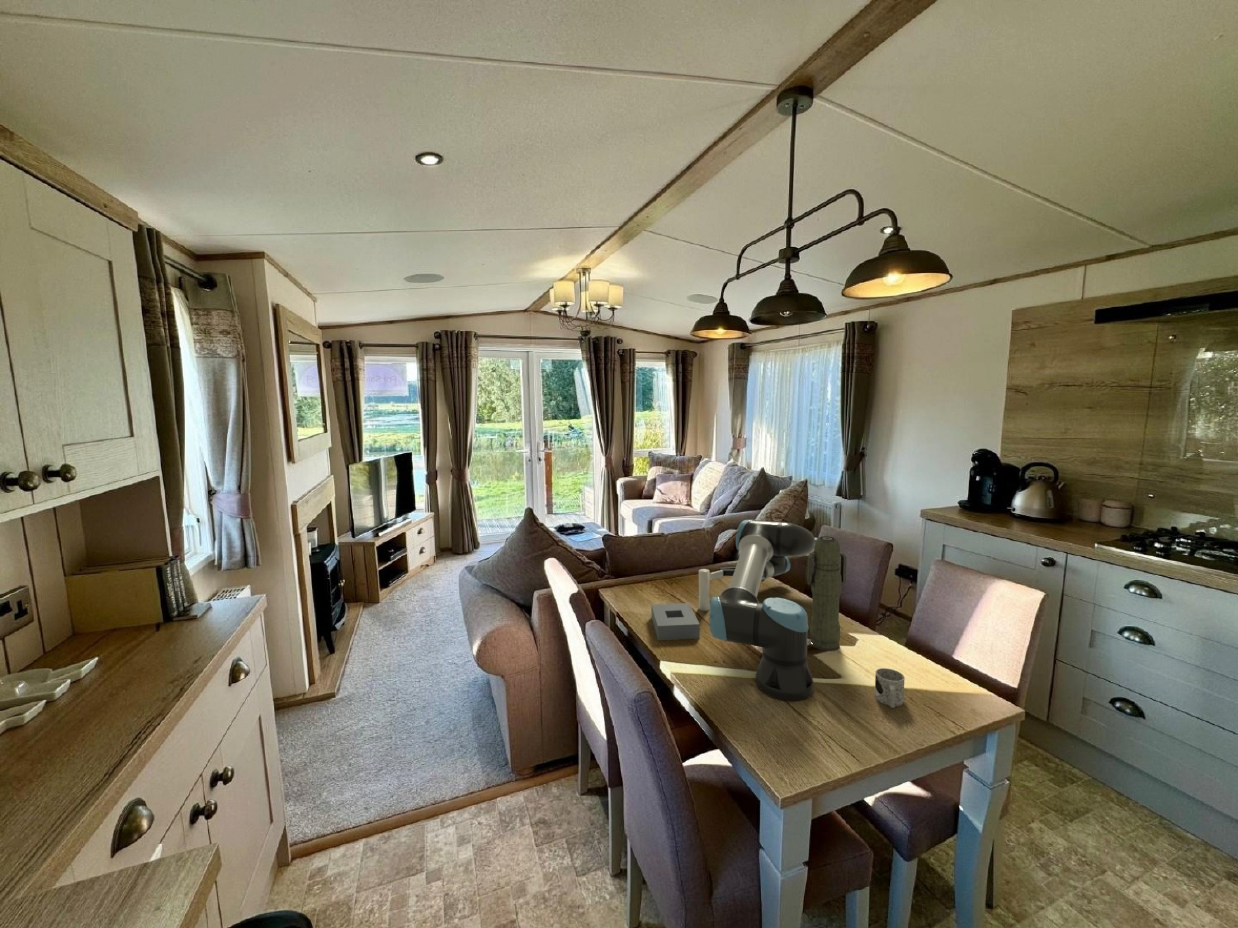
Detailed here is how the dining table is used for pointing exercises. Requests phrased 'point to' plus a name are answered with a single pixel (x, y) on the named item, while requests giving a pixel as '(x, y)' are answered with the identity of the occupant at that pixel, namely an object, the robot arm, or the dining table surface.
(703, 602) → the pin
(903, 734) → the dining table surface
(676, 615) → the hole block
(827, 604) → the thermos
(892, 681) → the mug
